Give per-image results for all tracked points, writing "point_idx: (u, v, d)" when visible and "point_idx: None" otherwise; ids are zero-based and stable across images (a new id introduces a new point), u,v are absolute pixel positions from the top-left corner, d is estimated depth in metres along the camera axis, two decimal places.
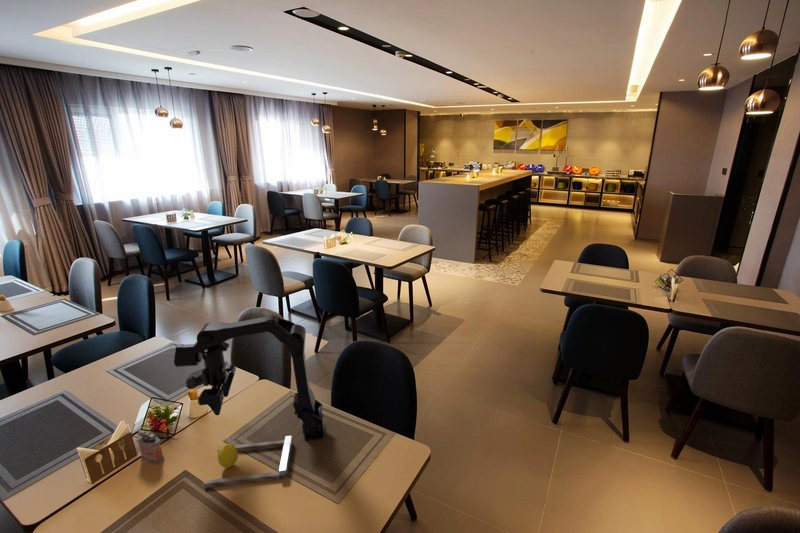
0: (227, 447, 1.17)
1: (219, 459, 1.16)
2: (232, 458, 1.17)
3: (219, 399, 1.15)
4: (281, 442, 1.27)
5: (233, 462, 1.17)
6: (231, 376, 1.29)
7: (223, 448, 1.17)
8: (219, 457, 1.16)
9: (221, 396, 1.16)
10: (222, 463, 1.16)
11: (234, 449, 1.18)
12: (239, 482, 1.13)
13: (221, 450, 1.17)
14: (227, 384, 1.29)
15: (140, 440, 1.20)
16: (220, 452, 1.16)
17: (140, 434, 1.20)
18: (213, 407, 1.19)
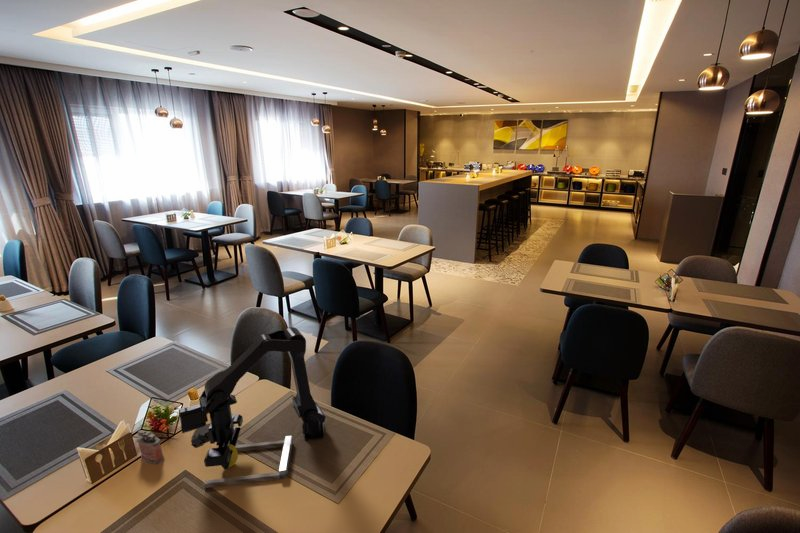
0: None
1: None
2: (232, 458, 1.17)
3: (227, 460, 1.09)
4: (281, 442, 1.27)
5: (233, 462, 1.17)
6: (237, 432, 1.21)
7: None
8: None
9: (229, 456, 1.10)
10: None
11: (234, 449, 1.18)
12: (239, 482, 1.13)
13: None
14: (233, 441, 1.21)
15: (140, 440, 1.20)
16: None
17: (140, 434, 1.20)
18: None
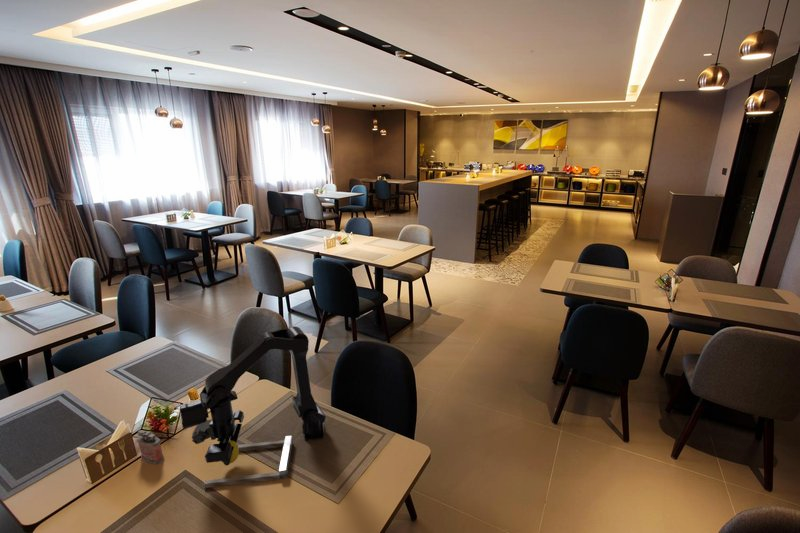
0: None
1: None
2: (233, 455, 1.17)
3: (228, 456, 1.08)
4: (281, 442, 1.27)
5: (234, 458, 1.17)
6: (238, 429, 1.21)
7: None
8: None
9: (230, 452, 1.10)
10: None
11: (235, 445, 1.18)
12: (239, 482, 1.13)
13: None
14: (234, 437, 1.21)
15: (140, 440, 1.20)
16: None
17: (140, 434, 1.20)
18: None
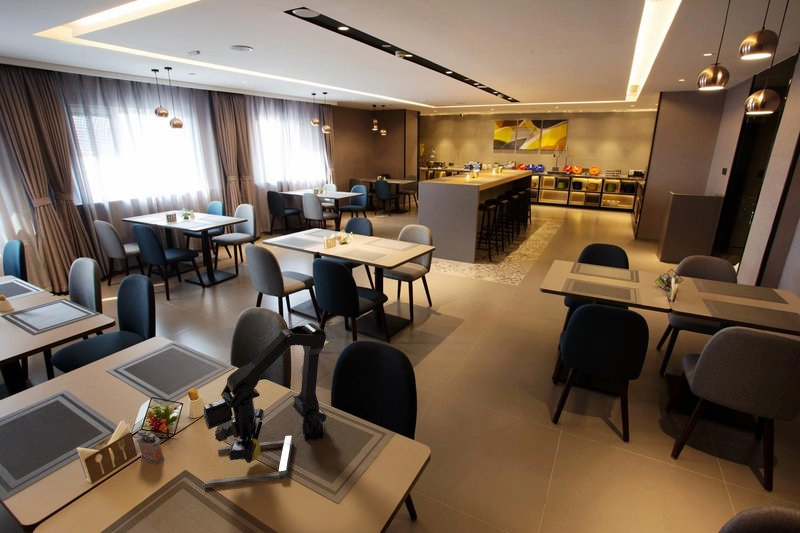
0: None
1: None
2: (255, 452, 1.17)
3: (251, 453, 1.09)
4: (281, 442, 1.27)
5: (256, 456, 1.18)
6: (259, 427, 1.22)
7: None
8: None
9: (253, 449, 1.11)
10: None
11: (257, 443, 1.19)
12: (239, 482, 1.13)
13: None
14: (255, 435, 1.22)
15: (140, 440, 1.20)
16: None
17: (140, 434, 1.20)
18: None
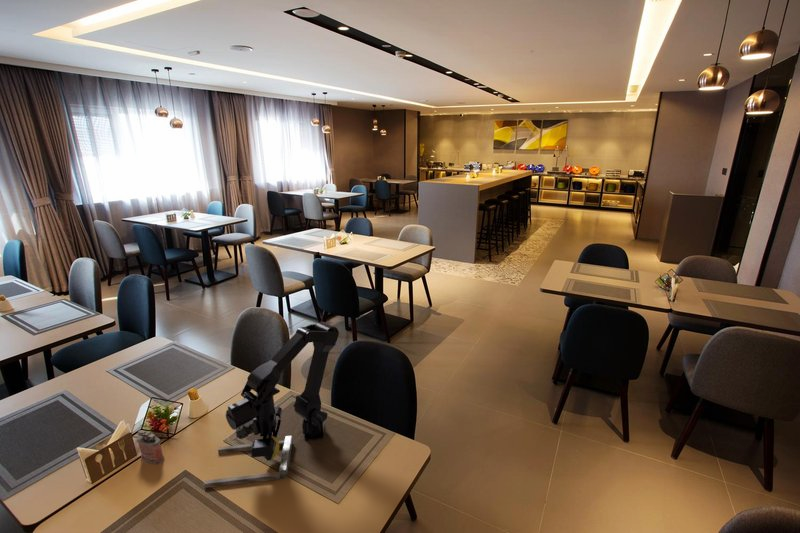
0: None
1: None
2: (274, 450, 1.18)
3: (272, 451, 1.10)
4: (281, 442, 1.27)
5: (275, 453, 1.19)
6: (278, 424, 1.22)
7: None
8: None
9: (274, 447, 1.11)
10: None
11: (276, 441, 1.19)
12: (239, 482, 1.13)
13: None
14: (274, 433, 1.22)
15: (140, 440, 1.20)
16: None
17: (140, 434, 1.20)
18: None
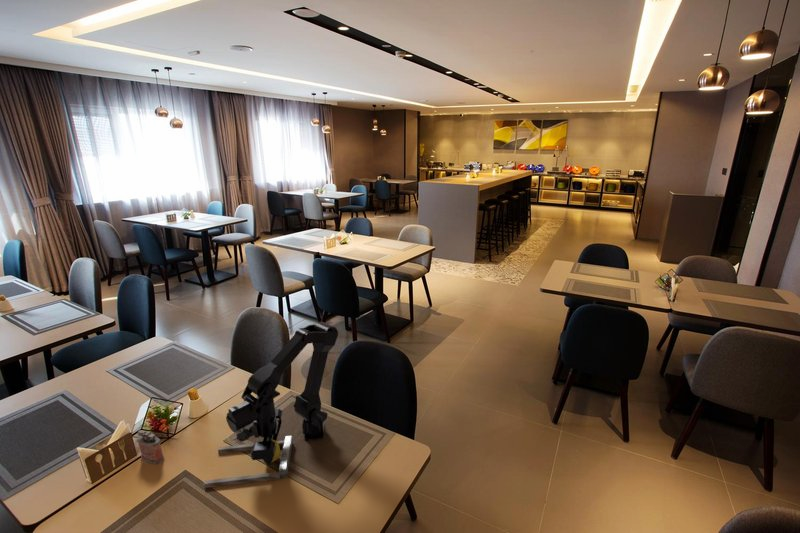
0: None
1: None
2: (275, 453, 1.19)
3: (273, 453, 1.10)
4: (281, 442, 1.27)
5: (276, 457, 1.19)
6: (279, 425, 1.23)
7: None
8: None
9: (274, 449, 1.12)
10: None
11: (277, 444, 1.20)
12: (239, 482, 1.13)
13: None
14: None
15: (140, 440, 1.20)
16: None
17: (140, 434, 1.20)
18: None
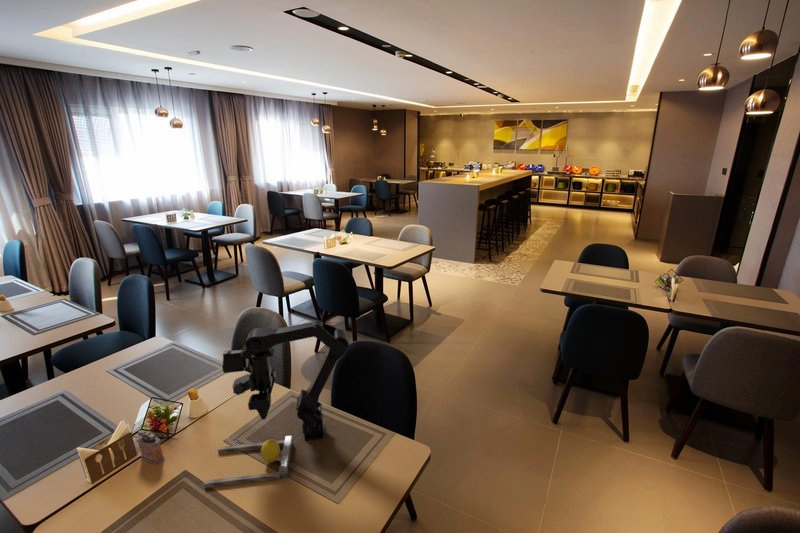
0: (270, 442, 1.19)
1: (263, 454, 1.18)
2: (275, 454, 1.19)
3: (269, 403, 1.17)
4: (281, 442, 1.27)
5: (276, 457, 1.19)
6: (272, 381, 1.31)
7: (266, 443, 1.19)
8: (263, 452, 1.18)
9: (270, 400, 1.18)
10: (266, 458, 1.18)
11: (277, 444, 1.20)
12: (239, 482, 1.13)
13: (264, 445, 1.18)
14: (269, 389, 1.31)
15: (140, 440, 1.20)
16: (263, 447, 1.18)
17: (140, 434, 1.20)
18: (261, 412, 1.21)
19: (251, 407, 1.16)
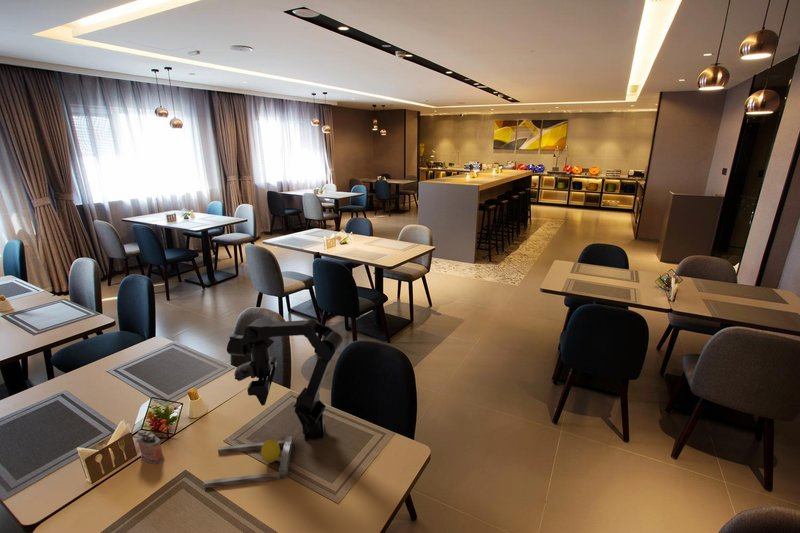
0: (270, 442, 1.19)
1: (263, 454, 1.18)
2: (275, 453, 1.19)
3: (267, 390, 1.23)
4: (281, 442, 1.27)
5: (276, 457, 1.19)
6: (273, 369, 1.37)
7: (266, 443, 1.19)
8: (263, 452, 1.18)
9: (268, 387, 1.24)
10: (266, 458, 1.18)
11: (277, 444, 1.20)
12: (239, 482, 1.13)
13: (265, 445, 1.18)
14: (270, 377, 1.37)
15: (140, 440, 1.20)
16: (264, 447, 1.18)
17: (140, 434, 1.20)
18: (260, 398, 1.27)
19: (250, 393, 1.22)
